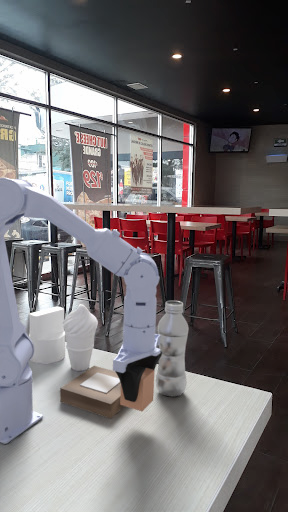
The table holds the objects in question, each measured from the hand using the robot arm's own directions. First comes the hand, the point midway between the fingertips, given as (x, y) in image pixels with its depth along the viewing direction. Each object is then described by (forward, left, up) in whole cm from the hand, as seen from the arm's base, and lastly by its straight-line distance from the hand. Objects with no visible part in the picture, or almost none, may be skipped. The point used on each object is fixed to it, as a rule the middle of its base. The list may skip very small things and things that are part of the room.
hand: (137, 393), depth 73 cm
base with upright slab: (+15, +34, -6) cm, 38 cm away
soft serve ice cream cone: (+14, +23, -6) cm, 28 cm away
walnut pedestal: (+5, +11, -6) cm, 13 cm away
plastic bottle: (+14, -1, -6) cm, 15 cm away
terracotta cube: (0, 0, -2) cm, 2 cm away
